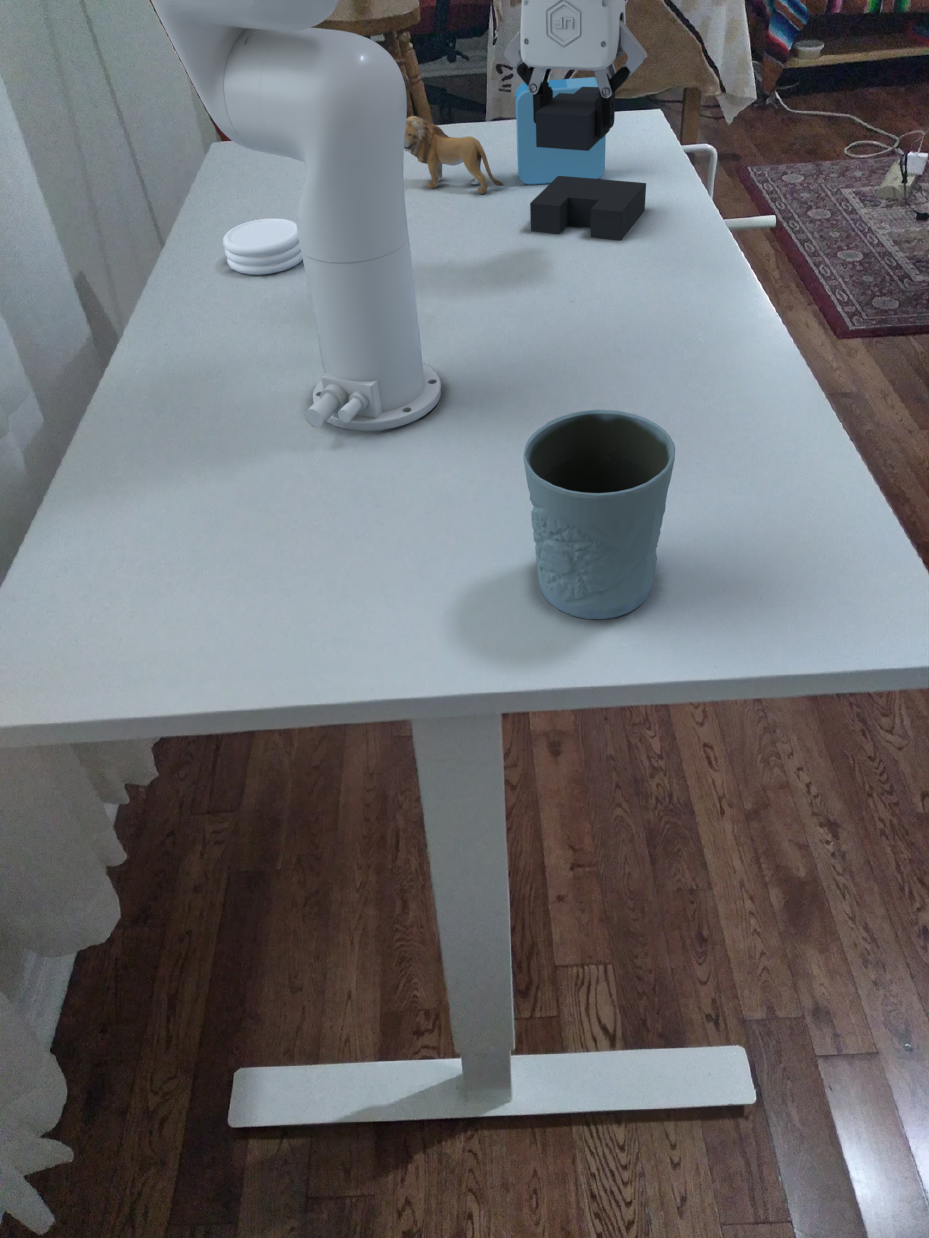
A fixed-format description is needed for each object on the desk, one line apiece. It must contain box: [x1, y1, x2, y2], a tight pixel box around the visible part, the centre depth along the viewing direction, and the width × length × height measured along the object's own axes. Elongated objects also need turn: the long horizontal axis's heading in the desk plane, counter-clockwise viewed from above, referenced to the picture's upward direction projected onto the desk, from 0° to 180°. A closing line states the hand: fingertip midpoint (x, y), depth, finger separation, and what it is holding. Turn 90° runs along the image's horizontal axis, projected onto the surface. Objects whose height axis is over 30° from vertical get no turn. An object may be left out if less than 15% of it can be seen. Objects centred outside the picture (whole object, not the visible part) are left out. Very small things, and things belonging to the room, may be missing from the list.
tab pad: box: [536, 87, 600, 151], centre depth 106 cm, size 10×6×4 cm, turn 155°
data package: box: [515, 76, 607, 186], centre depth 133 cm, size 12×4×12 cm, turn 89°
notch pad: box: [529, 176, 647, 241], centre depth 123 cm, size 10×12×4 cm
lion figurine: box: [404, 115, 504, 195], centre depth 134 cm, size 15×5×9 cm, turn 70°
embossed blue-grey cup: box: [523, 409, 676, 620], centre depth 69 cm, size 10×10×12 cm
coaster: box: [222, 217, 303, 276], centre depth 121 cm, size 10×10×4 cm
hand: (573, 131), depth 105 cm, fingers closed on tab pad, 6 cm apart
